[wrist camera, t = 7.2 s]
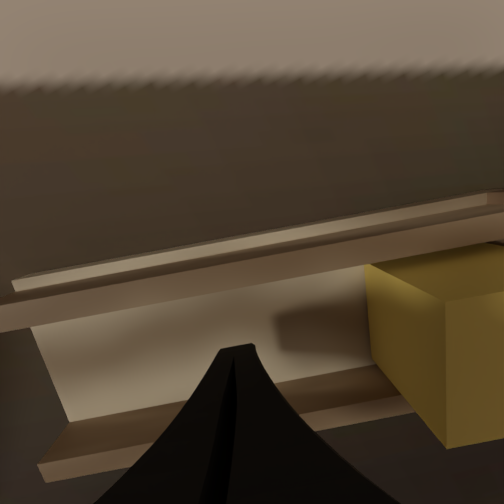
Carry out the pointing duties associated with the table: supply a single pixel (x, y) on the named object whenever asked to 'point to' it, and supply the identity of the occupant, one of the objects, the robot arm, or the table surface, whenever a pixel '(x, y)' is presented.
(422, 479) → the table surface
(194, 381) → the chute
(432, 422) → the block
